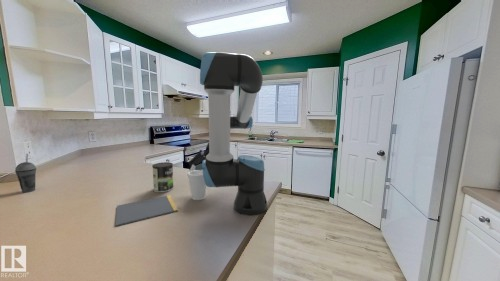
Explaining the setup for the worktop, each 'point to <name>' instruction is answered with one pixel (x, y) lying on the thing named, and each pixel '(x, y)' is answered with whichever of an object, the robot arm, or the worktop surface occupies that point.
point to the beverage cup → (26, 176)
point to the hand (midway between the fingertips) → (200, 178)
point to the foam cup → (197, 184)
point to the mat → (144, 210)
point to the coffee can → (163, 177)
